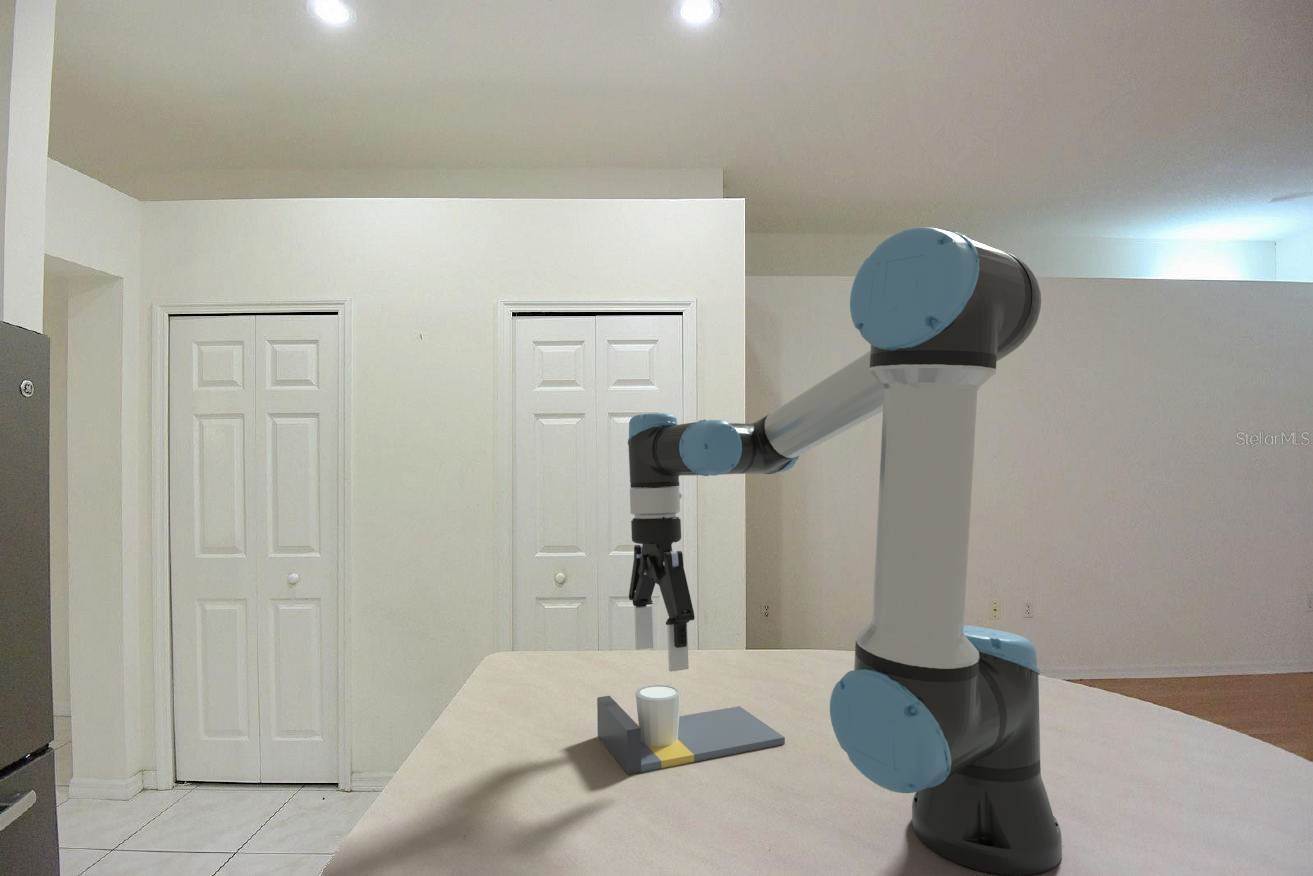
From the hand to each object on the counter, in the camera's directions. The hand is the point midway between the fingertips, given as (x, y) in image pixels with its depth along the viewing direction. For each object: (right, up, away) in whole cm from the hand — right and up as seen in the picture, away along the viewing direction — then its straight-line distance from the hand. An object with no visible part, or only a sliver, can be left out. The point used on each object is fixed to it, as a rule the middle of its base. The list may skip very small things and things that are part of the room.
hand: (660, 658), depth 101 cm
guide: (+4, -13, +2) cm, 14 cm away
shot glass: (0, -12, 0) cm, 12 cm away
